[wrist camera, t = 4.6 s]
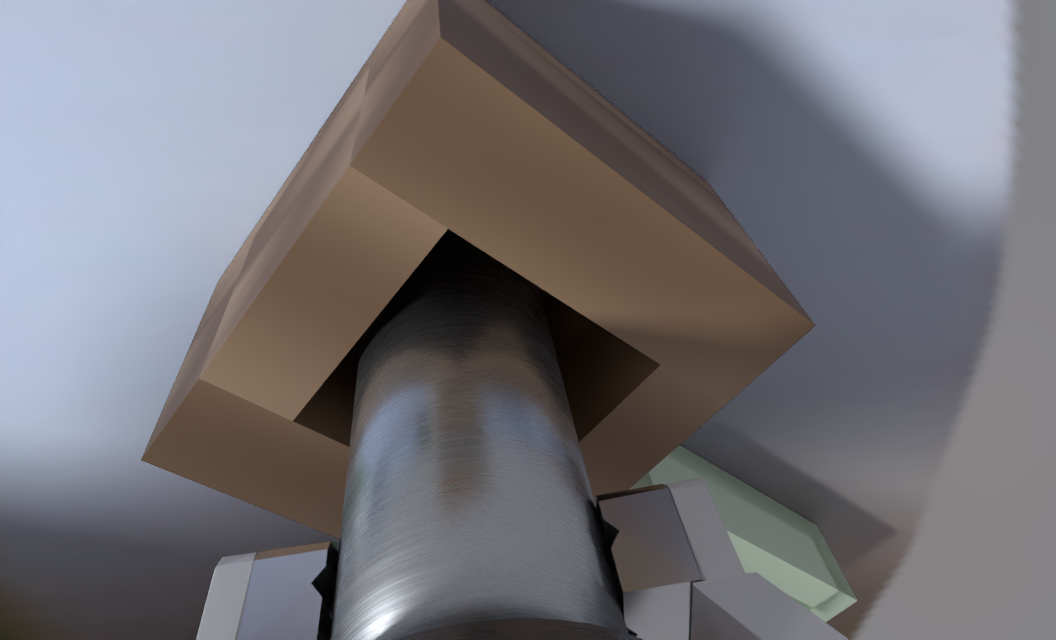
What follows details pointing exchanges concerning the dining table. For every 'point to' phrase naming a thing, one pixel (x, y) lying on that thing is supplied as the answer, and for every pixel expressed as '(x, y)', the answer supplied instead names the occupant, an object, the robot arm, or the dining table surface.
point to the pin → (468, 471)
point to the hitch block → (497, 229)
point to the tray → (766, 535)
